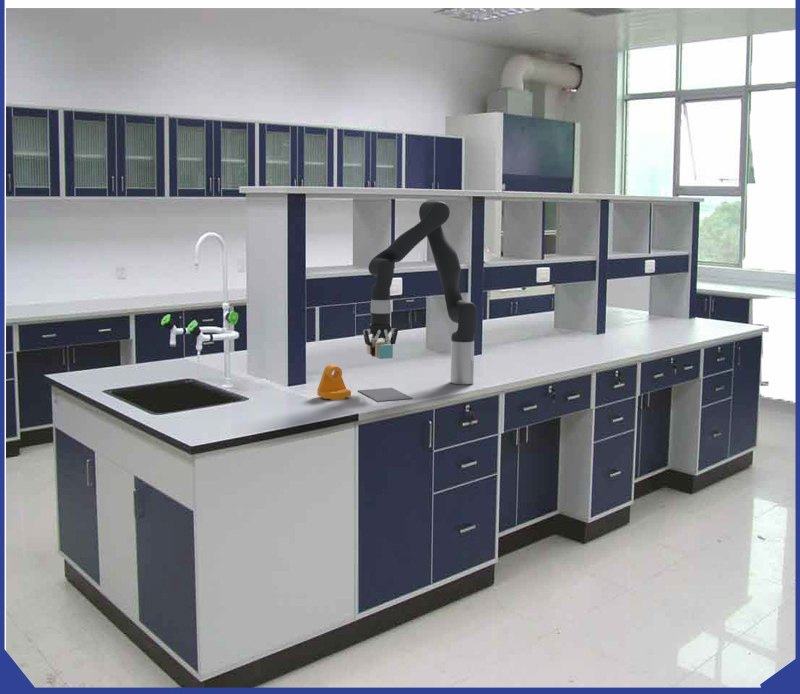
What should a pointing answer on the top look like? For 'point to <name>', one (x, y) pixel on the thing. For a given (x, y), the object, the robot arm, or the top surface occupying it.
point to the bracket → (332, 384)
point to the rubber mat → (385, 394)
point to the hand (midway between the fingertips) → (380, 355)
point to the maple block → (382, 350)
